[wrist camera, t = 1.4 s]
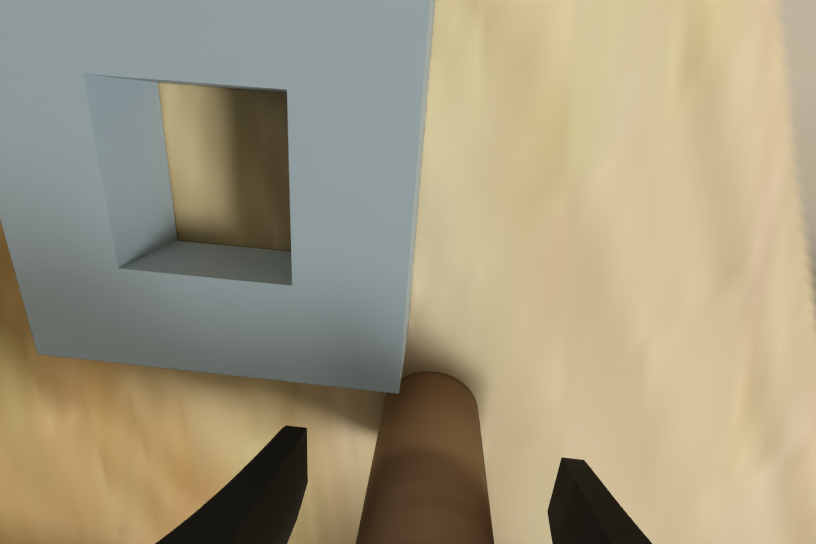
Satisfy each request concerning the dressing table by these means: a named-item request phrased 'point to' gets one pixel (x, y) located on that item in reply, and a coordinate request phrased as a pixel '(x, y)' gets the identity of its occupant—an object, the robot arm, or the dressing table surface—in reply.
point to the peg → (428, 468)
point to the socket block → (152, 199)
